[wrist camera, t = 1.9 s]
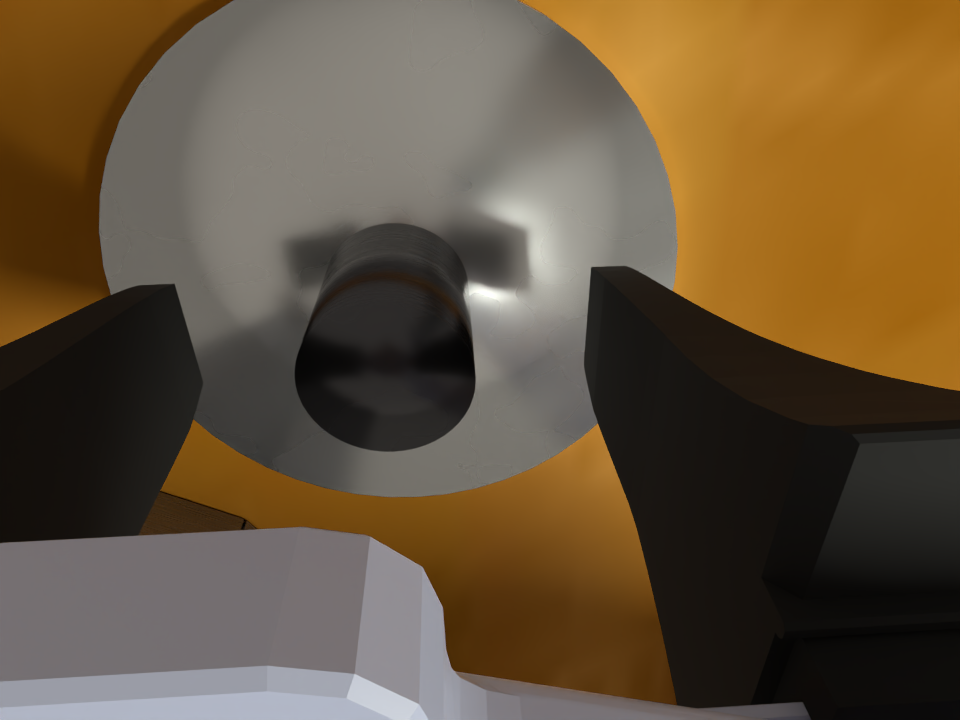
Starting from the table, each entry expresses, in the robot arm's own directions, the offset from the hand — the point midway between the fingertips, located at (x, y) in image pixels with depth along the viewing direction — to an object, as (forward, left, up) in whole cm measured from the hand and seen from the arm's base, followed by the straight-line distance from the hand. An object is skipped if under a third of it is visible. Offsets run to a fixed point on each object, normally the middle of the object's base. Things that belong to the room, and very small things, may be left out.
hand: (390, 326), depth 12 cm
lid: (0, 0, -2) cm, 2 cm away
